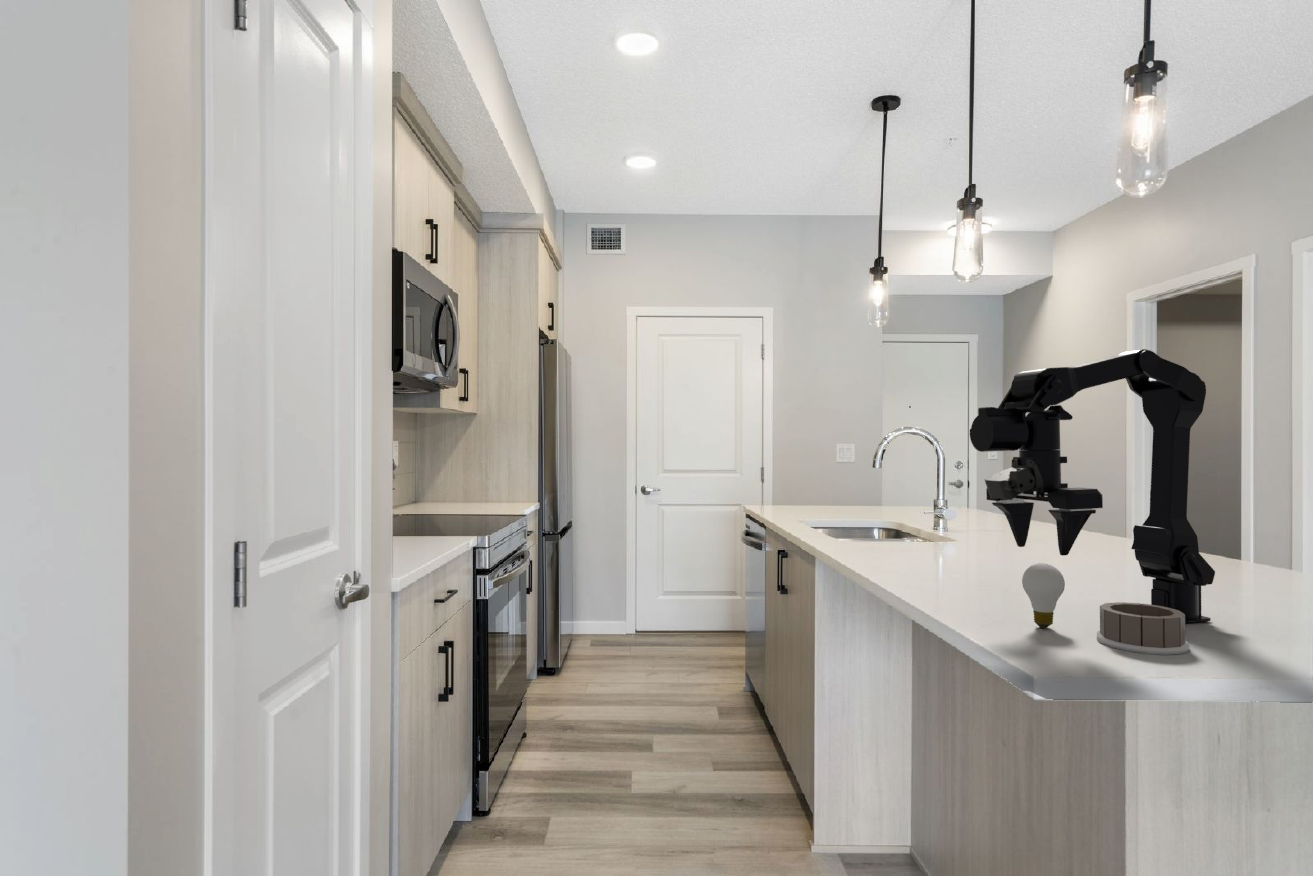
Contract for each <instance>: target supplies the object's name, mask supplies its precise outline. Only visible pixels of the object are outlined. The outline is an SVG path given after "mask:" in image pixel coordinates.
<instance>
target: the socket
mask: <svg viewBox="0 0 1313 876" xmlns="http://www.w3.org/2000/svg"><path fill="white" fill-rule="evenodd" d="M1096 640H1097V641H1098V642H1099V643H1100V644H1102V645H1105V646H1107V647H1111V648H1114V649H1117V650H1121V651H1125V652H1126V651H1127V652H1132V653H1137V654H1138V653H1139V654H1149V655H1160V656H1164V655H1165V656H1169V655H1170V656H1173V655H1175V656H1176V655H1182V654H1185V653H1188V652H1189V651H1190V644H1189V642H1188V641H1187V640H1186V623H1185V614H1184V613H1182V612H1180V611H1179V610H1175V609H1171V608H1167V607H1163V606H1157V605H1151V603H1150V604H1149V603H1140V602H1123V601H1120V602H1119V601H1117V602H1106V603H1103V604H1100V605H1099V630H1098V631H1097V632H1096Z"/></svg>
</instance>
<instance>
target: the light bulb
mask: <svg viewBox="0 0 1313 876" xmlns="http://www.w3.org/2000/svg"><path fill="white" fill-rule="evenodd" d="M1021 584H1022V588H1023V590H1024V592H1025V594H1026V595H1027V597H1028V598H1029V601H1030V603H1031V607H1032V610H1033V622H1034V623H1035V624H1036V625H1037V626H1038V627H1039V628H1041V629H1048V627H1050V626H1051V625H1053V624H1054V612H1055V609H1056V607H1057V603H1058V601H1059V599H1060V598H1061V596H1062V594H1063V593H1064V591H1065V585H1066V582H1065V578H1064V575H1063V574H1062V572H1061V571H1060V570H1059V569H1057V567H1055V566H1054V565H1052V564H1049V563H1045V562H1041V563H1040V562H1038V563H1035V564H1031V565H1029V567H1028V568H1026V569H1025V571H1024V572H1023V574H1022V578H1021Z"/></svg>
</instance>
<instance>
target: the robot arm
mask: <svg viewBox="0 0 1313 876" xmlns="http://www.w3.org/2000/svg"><path fill="white" fill-rule="evenodd" d="M1120 380H1126V383H1127V385H1128V388H1129V390H1131V391H1132V392H1133V393H1134V394H1135V395H1137V396H1138V397H1140V398H1141V402H1142V403H1141V404H1142V412H1143V414H1144V415H1145V417H1146V419H1147V420H1148V422H1149V424H1150V425H1151V427H1152V444H1151V445H1152V450H1151V469H1150V470H1151V472H1150V473H1151V475H1150V493H1149V494H1150V495H1149V512H1148V513H1149V514H1148V516H1147V518H1146V519H1145V520H1144V522H1143V523H1142V524H1135V525H1134V526H1133V529H1132V532H1133V533H1132V534H1133V540H1132V541H1133V542H1132V546H1131V550H1134V557H1135V560H1136V561H1137V562H1138V564H1139V565H1138V566H1139V567H1140V571H1141V573H1142V576H1143V577H1147V578H1148V577H1149V578H1152V588H1151V590H1150V598H1151V599H1150V605H1157V606H1163V607H1167V608H1171V609H1175V610H1179V611H1180V612H1182V613H1184V614H1185V624H1186V623H1187V624H1189V623H1199V622H1200V623H1202V622H1211V621H1212V620H1211V619H1212V618H1211V617H1209V616H1204V615H1202V587H1204V586H1205V587H1207V585H1213V582H1214V579H1215V576H1216V570H1214V568H1213V567H1212V566H1211V565H1210V564H1209V562H1208V561H1206V559H1205V558H1204V557H1203V556H1202V554H1200V550H1199V549H1200V548H1199V540H1198V539H1199V538H1198V535H1197V533H1196V532H1195V530H1194V528H1193V526H1192V525H1191V523H1190V522H1189V520H1188V516H1187V513H1188V492H1189V491H1188V490H1189V488H1188V487H1189V467H1190V466H1189V464H1190V461H1189V460H1190V444H1191V440H1190V439H1191V429H1192V427H1193V425H1194V424H1195V423H1196V422H1197V420H1198V419H1199V417H1200V416H1201V415H1202V413H1203V410H1204V406H1205V400H1206V394H1207V386H1206V382H1205V381H1204V380H1202V379H1201V377H1200V376H1199V375H1198V374H1196V373H1195V372H1192V371H1190V370H1189V369H1188V368H1186V367H1185V366H1182V365H1180V364H1178V363H1175V362H1174V361H1173V362H1172V361H1170V360H1167V359H1166V358H1163V357H1161V356H1159V355H1158V354H1157V353H1156V352H1154V351H1153V350H1150V349H1146V348H1144V349H1135V350H1128V351H1123V352H1121V353H1119V354H1116V355H1113V356H1109V357H1105V358H1101V359H1097V360H1094V361H1093V360H1092V361H1090V362H1085V363H1082V364H1081V363H1080V364H1078V365H1074V366H1063V367H1062V366H1061V367H1059V366H1058V367H1048V368H1040V369H1033V370H1025V371H1020V372H1018V373H1015V375H1014V376H1013V380H1012V382H1011V385H1010V389H1009V390H1008V391H1007V392H1006V394H1005V395H1004V397H1003V399H1002V400H1001V402H1000V403H999V406H998V407H994V406H986V407H984V406H983V407H978V410H977V414H978V415H977V416H976V417H975V418H974V419H973V420H972V424H971V427H970V429H969V438H970V439H969V440H970V442H971V444H972V446H973V448H974V449H975V450H976V451H978V452H981V453H984V452H985V453H986V452H1014V451H1018V450H1019V451H1018V456H1013V457H1012V459H1011V467H1009V468H1006V469H1003V470H999V471H998V472H996V473H994V474H991V475H990V476H987V477H985V478H984V482H985V485H986V492H985V493H986V500H987V501H993V502H991V504H992V506H994V507H996V508H998V509H999V510H1000V511H1001V512H1002V513H1003V514H1004V515H1005V518H1006V520H1007V522H1008V525H1009V527H1010V530H1011V532H1012V535H1013V537H1014V540H1015V541H1014V542H1016V546H1017V547H1019V548H1024V547H1026V543H1027V541H1028V535H1029V530H1030V526H1031V521H1032V515H1033V510H1034V505H1035V502H1033V501H1036V502H1038V501H1039V502H1048V503H1049V504H1050V506H1051V507H1052V508H1053V509H1048V512H1049V513H1050V515H1051V516H1052V518H1054V520H1055V523H1056V533H1057V534H1056V536H1057V546H1058V551H1059V555H1060V556H1068V555H1069V554H1070V552H1071V549H1072V547H1073V546H1074V544H1075V542H1076V540H1077V538H1078V536H1079V535H1080V532H1081V531H1082V529H1083V527H1084V526H1085V524H1086V523H1087V521H1088V520H1089V518H1090V516H1091V515H1092V514H1096V513H1097V509H1104V508H1103V506H1104V505H1103V502H1104V500H1103V493H1101V492H1100V490H1098V488H1090V487H1089V488H1087V487H1069V486H1068V485H1069V484H1068V483H1067V482H1062V464H1067V463H1068V456H1064V455H1063V456H1062V455H1061V421H1071V420H1072V419H1074V417H1073V415H1072V414H1071V413H1069V412H1068V410H1067V411H1066V410H1065V409H1064V408H1063V406H1062V405H1061V403H1063V402H1065V401H1068V400H1069V399H1072V398H1073V397H1074V396H1075V395H1076V394H1077V393H1079V392H1080V391H1083V390H1086V389H1090V388H1094V387H1099V386H1102V385H1104V384H1110V383H1112V382H1115V381H1120ZM1026 414H1027V415H1026ZM1026 500H1029V501H1026ZM1031 501H1032V502H1031Z"/></svg>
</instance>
